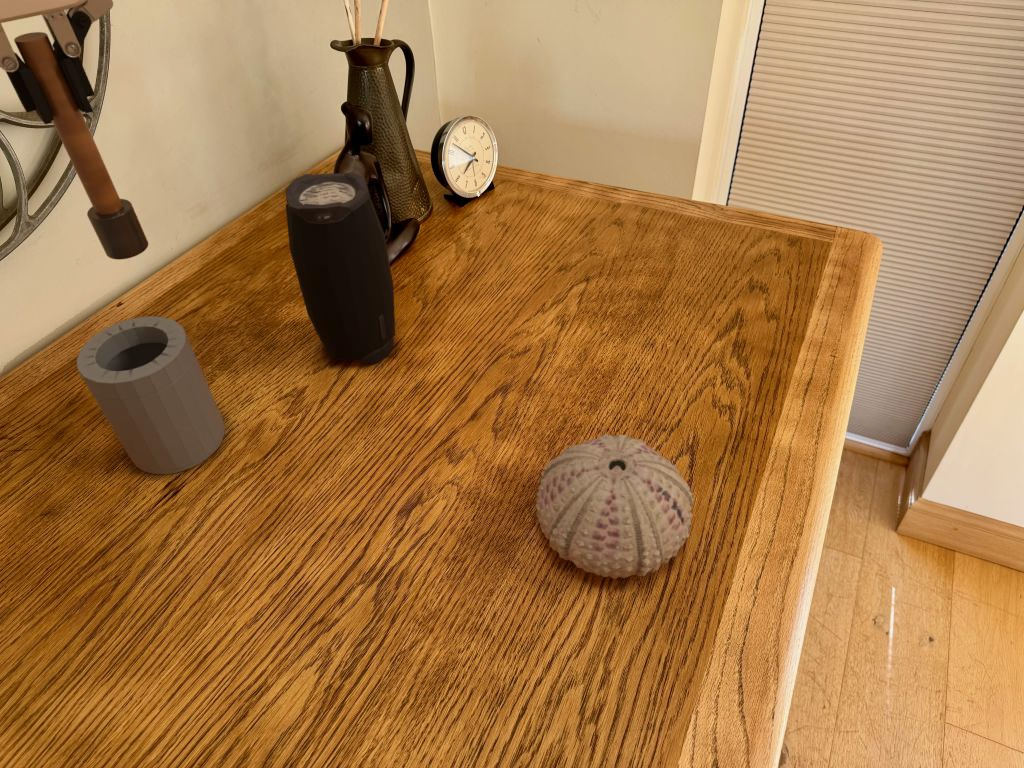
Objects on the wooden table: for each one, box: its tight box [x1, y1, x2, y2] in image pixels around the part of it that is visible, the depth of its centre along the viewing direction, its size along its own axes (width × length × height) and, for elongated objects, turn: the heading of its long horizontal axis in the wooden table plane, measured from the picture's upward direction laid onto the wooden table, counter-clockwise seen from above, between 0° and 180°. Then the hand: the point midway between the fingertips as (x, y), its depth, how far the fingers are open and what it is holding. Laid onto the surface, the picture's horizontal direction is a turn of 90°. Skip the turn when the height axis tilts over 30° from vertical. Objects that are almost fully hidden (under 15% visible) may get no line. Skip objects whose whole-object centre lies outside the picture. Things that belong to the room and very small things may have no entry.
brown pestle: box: [13, 31, 149, 260], centre depth 59 cm, size 4×4×18 cm
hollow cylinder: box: [76, 315, 226, 475], centre depth 68 cm, size 9×9×12 cm
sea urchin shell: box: [534, 433, 696, 580], centre depth 61 cm, size 13×14×8 cm
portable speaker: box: [285, 171, 396, 366], centre depth 75 cm, size 9×9×20 cm
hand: (64, 110), depth 56 cm, fingers closed on brown pestle, 2 cm apart
